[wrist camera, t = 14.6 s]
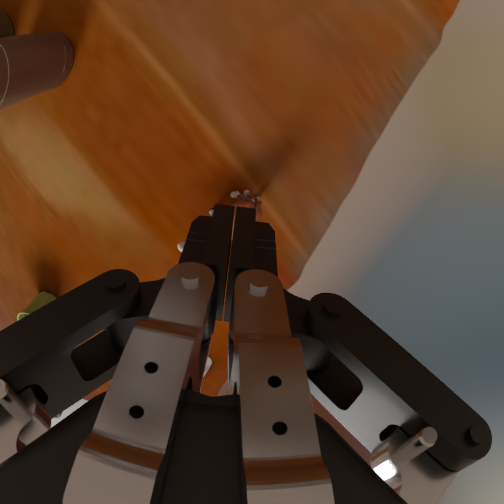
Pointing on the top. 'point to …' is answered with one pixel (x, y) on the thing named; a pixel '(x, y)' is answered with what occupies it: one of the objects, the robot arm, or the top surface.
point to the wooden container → (5, 25)
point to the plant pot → (37, 304)
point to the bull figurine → (240, 201)
